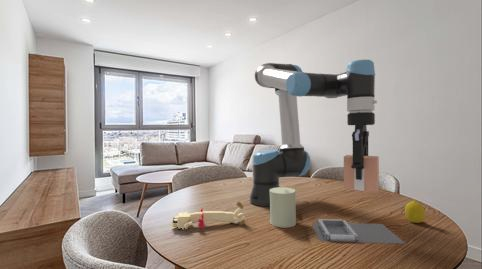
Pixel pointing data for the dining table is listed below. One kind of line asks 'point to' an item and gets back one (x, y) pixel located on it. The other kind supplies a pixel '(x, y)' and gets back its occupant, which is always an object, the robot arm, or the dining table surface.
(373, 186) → the terracotta block
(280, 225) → the can
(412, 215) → the lemon
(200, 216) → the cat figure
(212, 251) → the dining table surface
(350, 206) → the dining table surface
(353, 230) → the pocket plate
